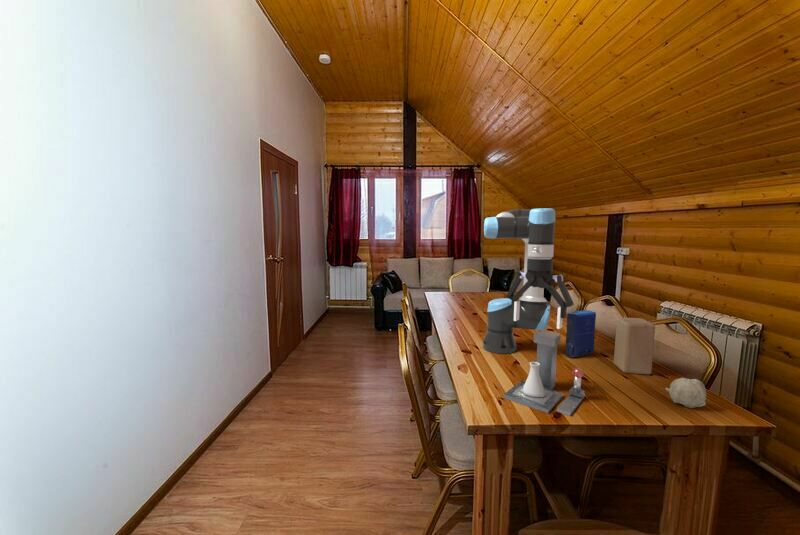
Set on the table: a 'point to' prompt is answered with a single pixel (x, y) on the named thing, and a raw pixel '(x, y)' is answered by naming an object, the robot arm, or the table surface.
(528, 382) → the flask
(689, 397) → the garlic bulb
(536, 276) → the robot arm
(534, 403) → the base
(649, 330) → the wooden block
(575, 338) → the book
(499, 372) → the table surface
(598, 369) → the table surface
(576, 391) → the lever
